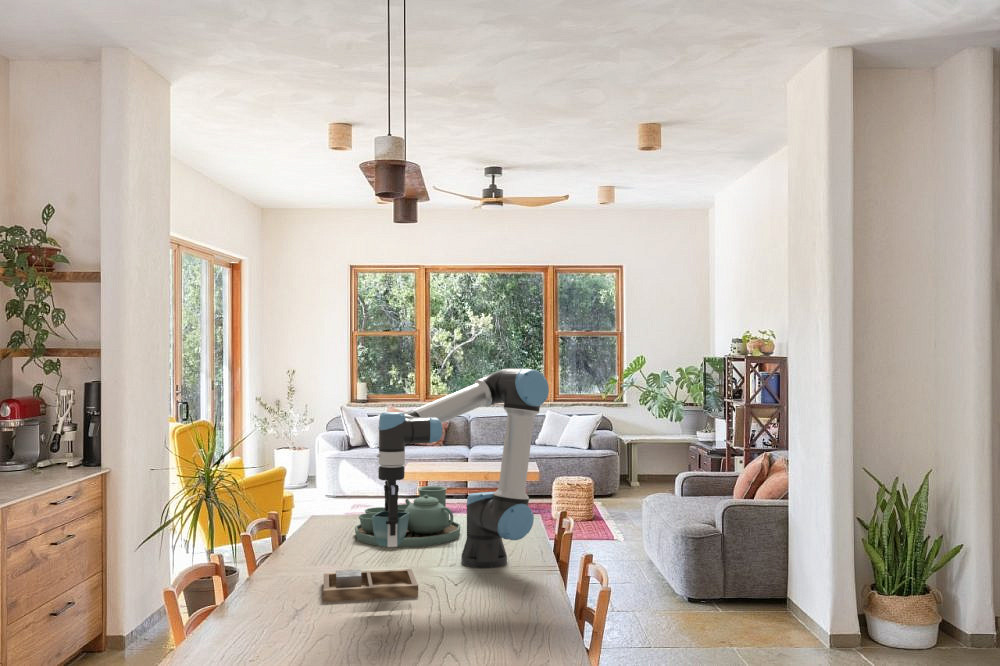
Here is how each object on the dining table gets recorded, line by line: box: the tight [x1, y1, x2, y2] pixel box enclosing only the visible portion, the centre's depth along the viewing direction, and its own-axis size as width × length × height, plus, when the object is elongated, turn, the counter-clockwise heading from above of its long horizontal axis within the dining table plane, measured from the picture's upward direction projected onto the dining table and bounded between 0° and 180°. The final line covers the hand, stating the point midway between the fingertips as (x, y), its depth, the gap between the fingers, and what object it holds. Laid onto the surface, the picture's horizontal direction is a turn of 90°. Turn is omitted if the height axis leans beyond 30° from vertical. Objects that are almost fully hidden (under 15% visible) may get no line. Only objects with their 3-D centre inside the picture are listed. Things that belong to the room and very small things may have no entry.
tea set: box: [354, 485, 461, 548], centre depth 314 cm, size 40×40×16 cm
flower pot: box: [372, 511, 409, 547], centre depth 240 cm, size 9×9×9 cm
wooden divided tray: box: [322, 568, 419, 603], centre depth 238 cm, size 26×18×4 cm
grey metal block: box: [335, 569, 362, 588], centre depth 237 cm, size 7×7×5 cm
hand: (390, 542), depth 240 cm, fingers closed on flower pot, 10 cm apart
